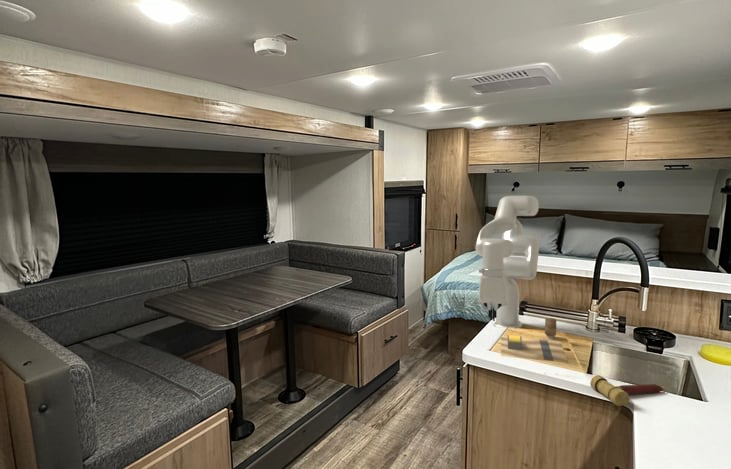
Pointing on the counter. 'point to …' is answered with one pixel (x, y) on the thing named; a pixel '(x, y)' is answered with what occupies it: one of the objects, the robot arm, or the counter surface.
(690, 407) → the counter surface
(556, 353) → the subfloor board
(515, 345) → the stud finder
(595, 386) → the gavel
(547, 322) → the brown grey cylinder
